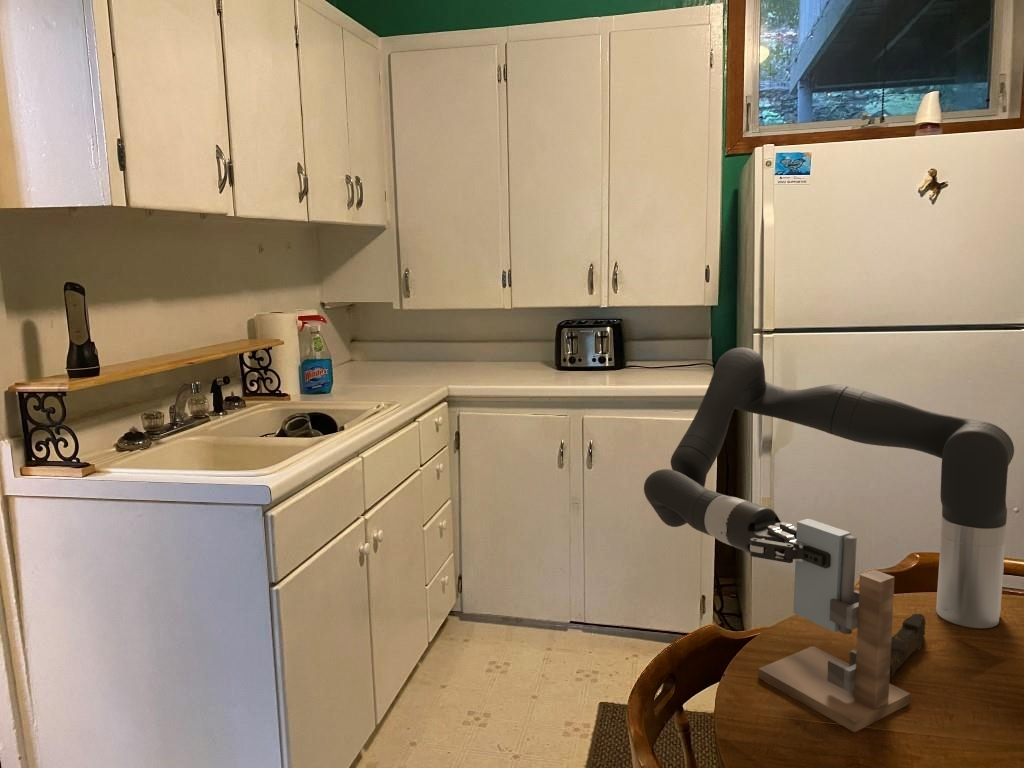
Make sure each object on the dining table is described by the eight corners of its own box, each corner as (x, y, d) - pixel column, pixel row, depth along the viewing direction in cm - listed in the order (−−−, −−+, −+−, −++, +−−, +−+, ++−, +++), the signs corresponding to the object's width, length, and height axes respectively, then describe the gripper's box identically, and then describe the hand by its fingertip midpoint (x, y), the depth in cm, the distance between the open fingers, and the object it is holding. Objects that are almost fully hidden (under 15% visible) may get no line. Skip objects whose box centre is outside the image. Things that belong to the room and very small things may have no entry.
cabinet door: (804, 609, 114) (808, 518, 111) (856, 632, 106) (861, 536, 104) (793, 613, 112) (797, 521, 110) (844, 637, 105) (849, 539, 103)
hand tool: (889, 688, 111) (891, 658, 110) (862, 677, 114) (863, 648, 113) (940, 643, 123) (942, 616, 122) (914, 634, 126) (915, 607, 125)
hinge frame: (812, 655, 120) (816, 535, 117) (909, 703, 106) (917, 569, 103) (758, 677, 114) (761, 552, 111) (854, 732, 100) (860, 591, 97)
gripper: (771, 537, 125) (866, 573, 110) (708, 555, 118) (801, 596, 104) (772, 493, 124) (869, 523, 109) (709, 509, 117) (803, 543, 102)
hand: (835, 559), depth 107 cm, fingers closed on cabinet door, 2 cm apart
